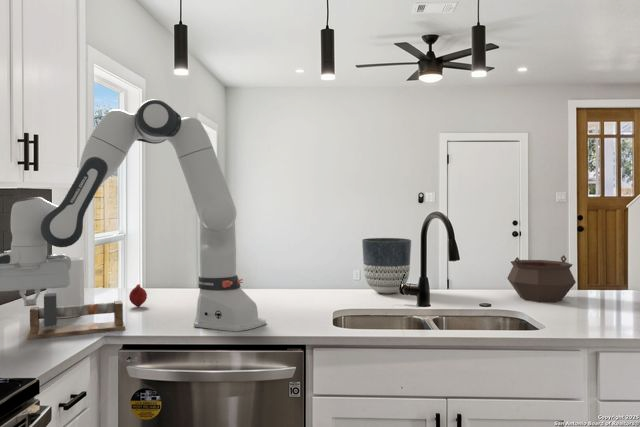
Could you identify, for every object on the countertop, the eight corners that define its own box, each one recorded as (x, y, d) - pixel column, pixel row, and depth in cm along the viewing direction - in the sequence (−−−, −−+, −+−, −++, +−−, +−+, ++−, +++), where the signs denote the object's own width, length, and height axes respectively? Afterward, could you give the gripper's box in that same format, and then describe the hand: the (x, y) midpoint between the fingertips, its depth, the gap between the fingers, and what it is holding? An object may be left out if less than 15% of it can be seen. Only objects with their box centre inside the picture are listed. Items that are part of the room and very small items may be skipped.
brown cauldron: (536, 307, 190) (536, 260, 190) (493, 295, 213) (494, 253, 213) (590, 302, 198) (591, 257, 197) (544, 292, 220) (544, 251, 220)
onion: (141, 308, 189) (141, 285, 189) (126, 308, 190) (125, 285, 190) (149, 305, 194) (149, 283, 194) (135, 305, 196) (134, 282, 195)
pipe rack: (122, 324, 166) (122, 299, 165) (125, 329, 158) (124, 304, 158) (29, 332, 155) (29, 306, 155) (27, 339, 148) (27, 311, 148)
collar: (56, 321, 157) (56, 292, 157) (56, 325, 152) (55, 296, 151) (45, 322, 156) (44, 293, 156) (44, 326, 150) (43, 297, 150)
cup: (91, 312, 183) (90, 257, 182) (68, 319, 172) (67, 261, 172) (63, 310, 186) (62, 256, 185) (38, 317, 175) (37, 260, 174)
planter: (409, 289, 228) (409, 238, 228) (412, 297, 209) (412, 241, 208) (362, 288, 230) (362, 237, 230) (361, 296, 211) (361, 241, 210)
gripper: (70, 253, 158) (71, 300, 159) (-12, 256, 150) (-10, 306, 150) (70, 255, 153) (71, 304, 153) (-15, 258, 144) (-14, 310, 145)
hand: (30, 305), depth 152 cm, fingers closed
